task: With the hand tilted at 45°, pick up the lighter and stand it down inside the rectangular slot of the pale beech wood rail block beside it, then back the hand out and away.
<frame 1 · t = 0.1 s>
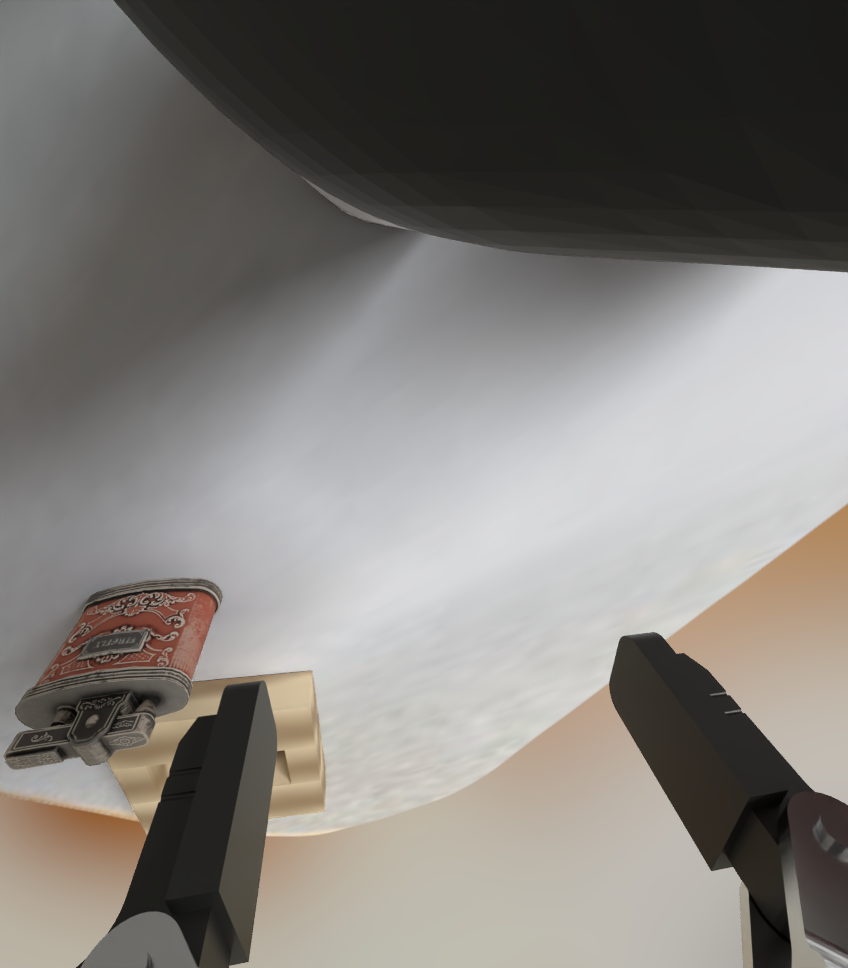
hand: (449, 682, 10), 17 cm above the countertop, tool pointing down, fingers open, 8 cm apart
lighter: (158, 598, 30), on the countertop
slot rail: (231, 737, 37), on the countertop
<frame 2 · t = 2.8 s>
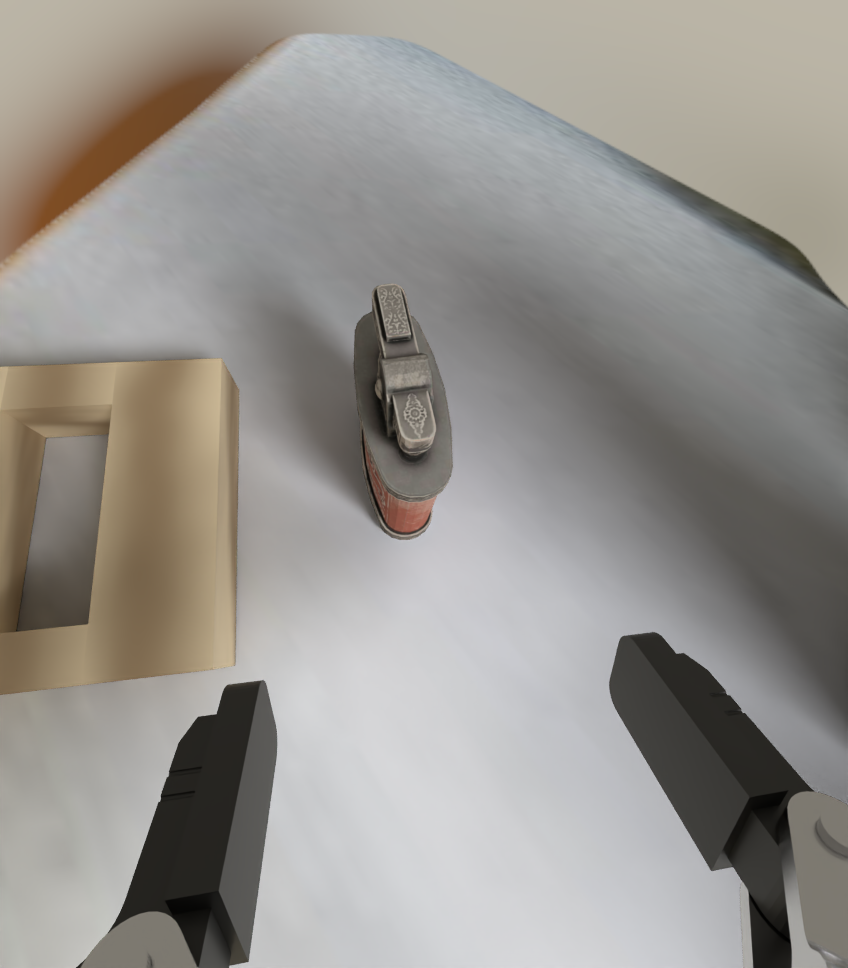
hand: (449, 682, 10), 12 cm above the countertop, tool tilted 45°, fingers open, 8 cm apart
lighter: (394, 467, 25), on the countertop
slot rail: (84, 527, 22), on the countertop
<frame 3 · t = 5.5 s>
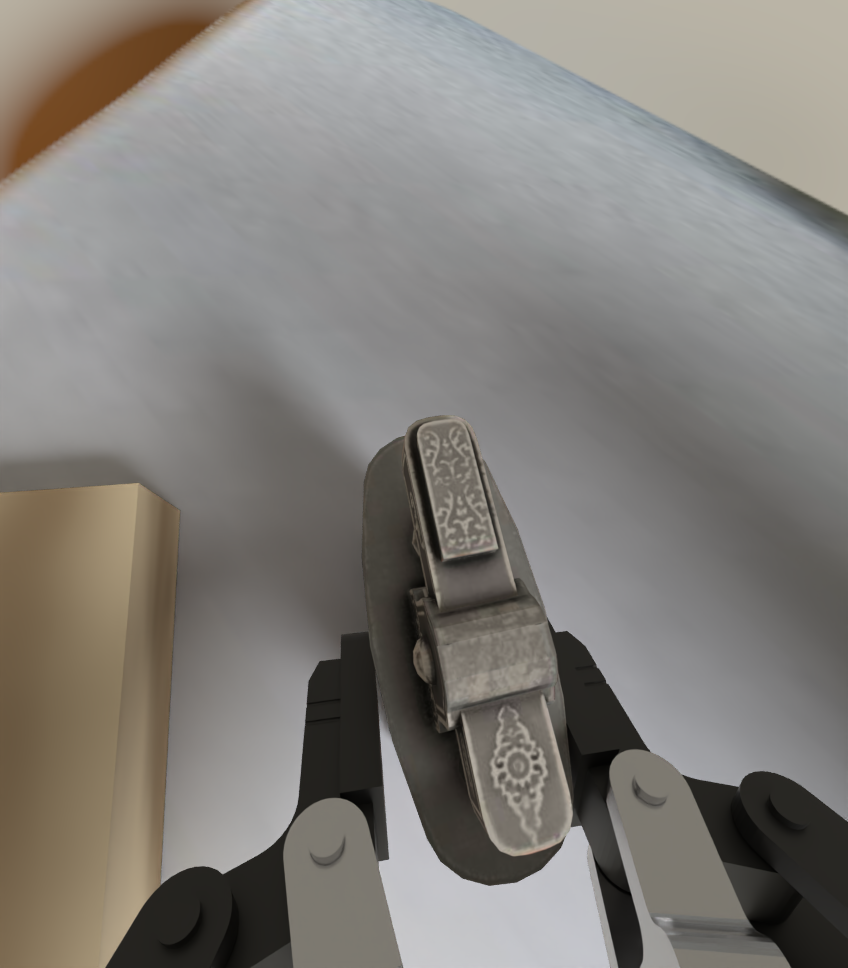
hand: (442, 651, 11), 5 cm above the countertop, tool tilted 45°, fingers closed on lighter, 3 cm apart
lighter: (421, 632, 16), on the countertop, touching gripper
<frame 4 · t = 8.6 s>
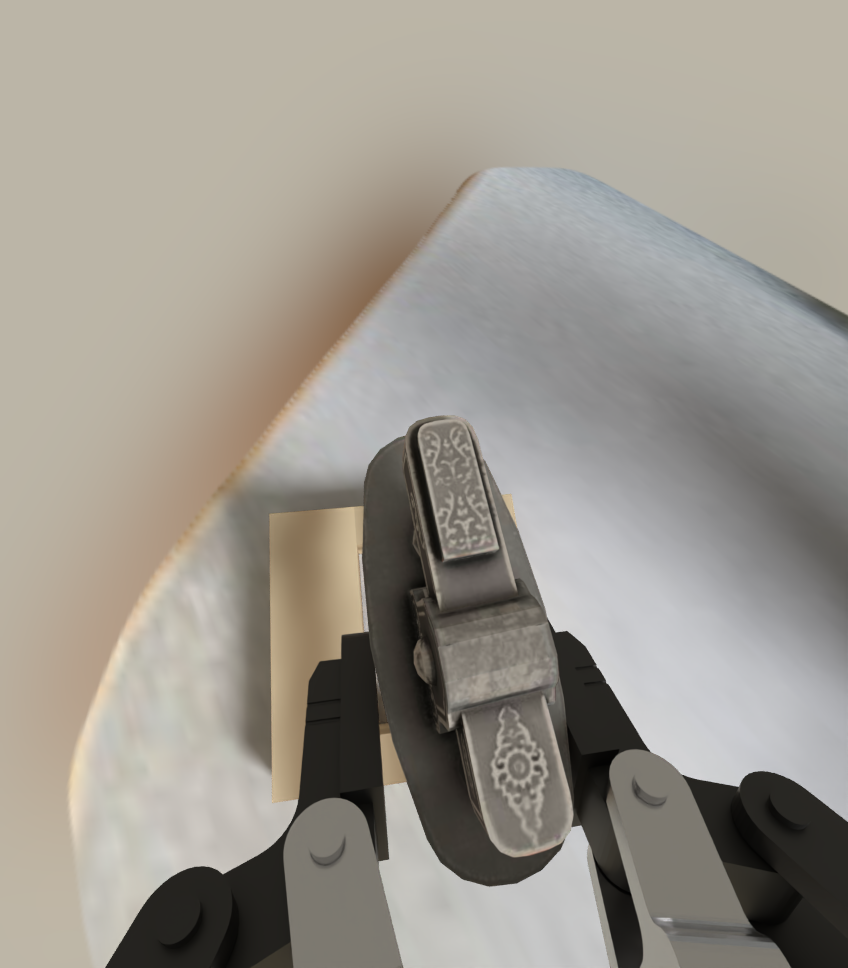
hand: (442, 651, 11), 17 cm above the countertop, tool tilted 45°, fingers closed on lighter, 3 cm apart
lighter: (421, 632, 16), point 12 cm above the countertop, touching gripper
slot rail: (403, 630, 27), on the countertop
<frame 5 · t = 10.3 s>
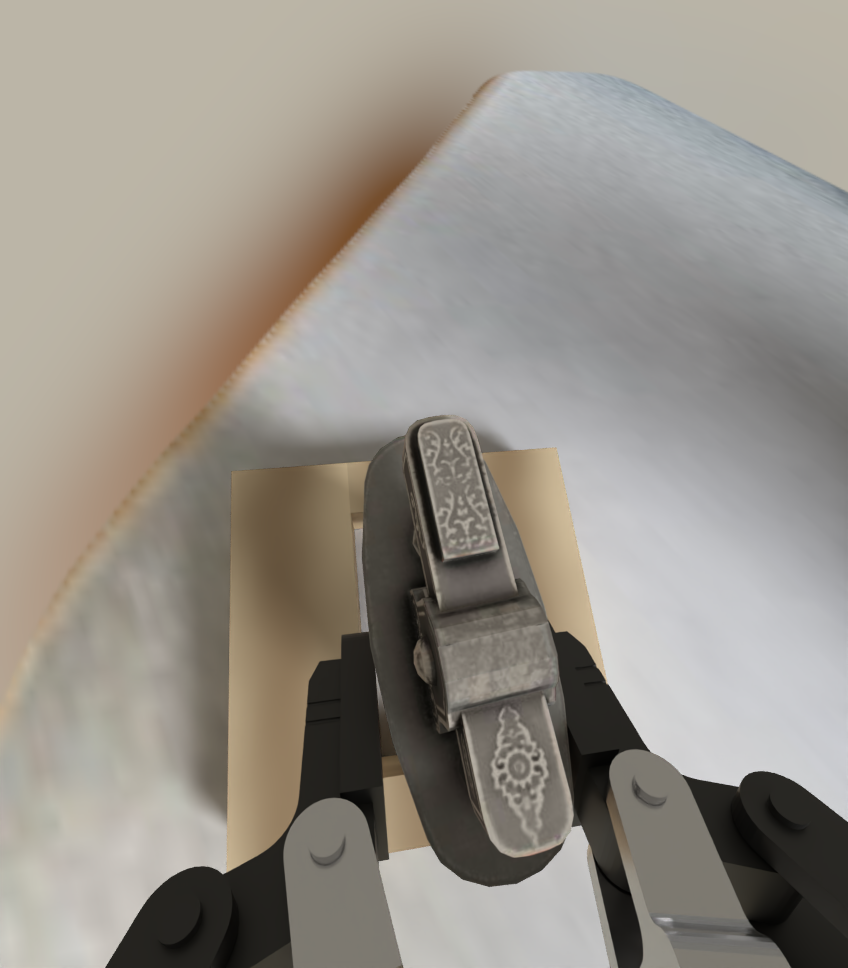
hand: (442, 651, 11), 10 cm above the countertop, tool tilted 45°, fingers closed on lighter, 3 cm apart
lighter: (421, 632, 16), point 5 cm above the countertop, touching gripper
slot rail: (413, 629, 21), on the countertop
when the fingers open (5 cm above the countertop, at t = 11.7 s): lighter stays where it is, resting in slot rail.
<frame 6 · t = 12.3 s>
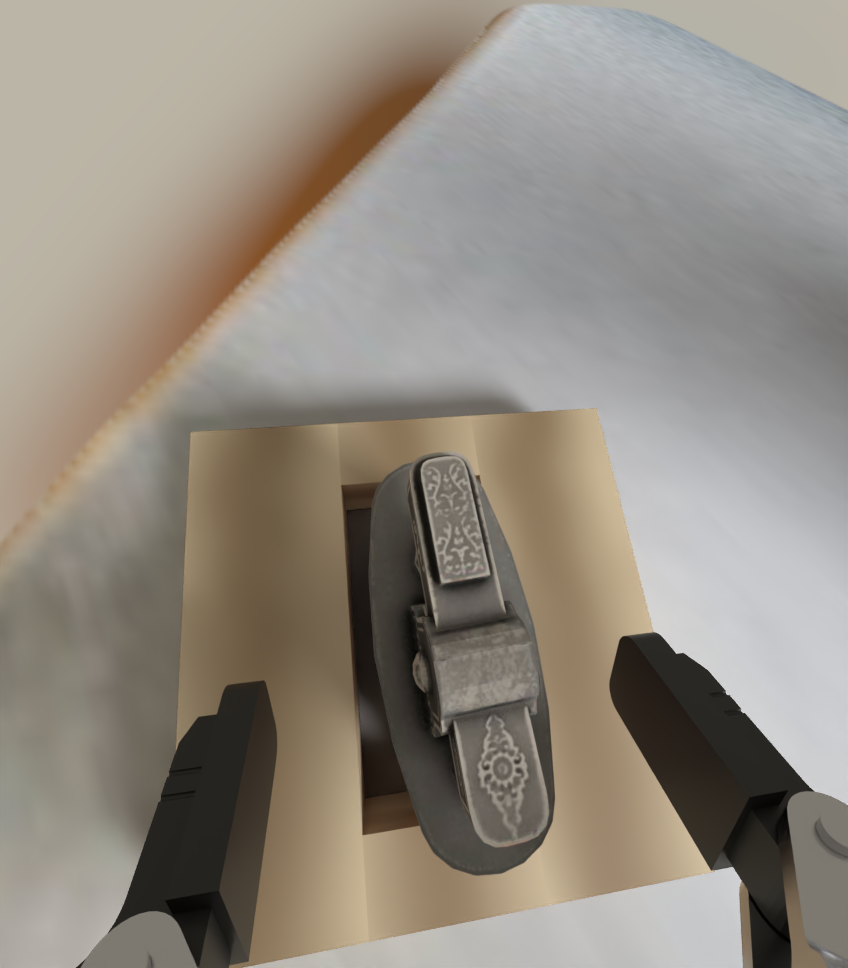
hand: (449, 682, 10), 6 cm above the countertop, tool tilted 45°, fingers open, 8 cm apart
lighter: (422, 640, 17), resting in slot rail
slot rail: (419, 633, 17), on the countertop
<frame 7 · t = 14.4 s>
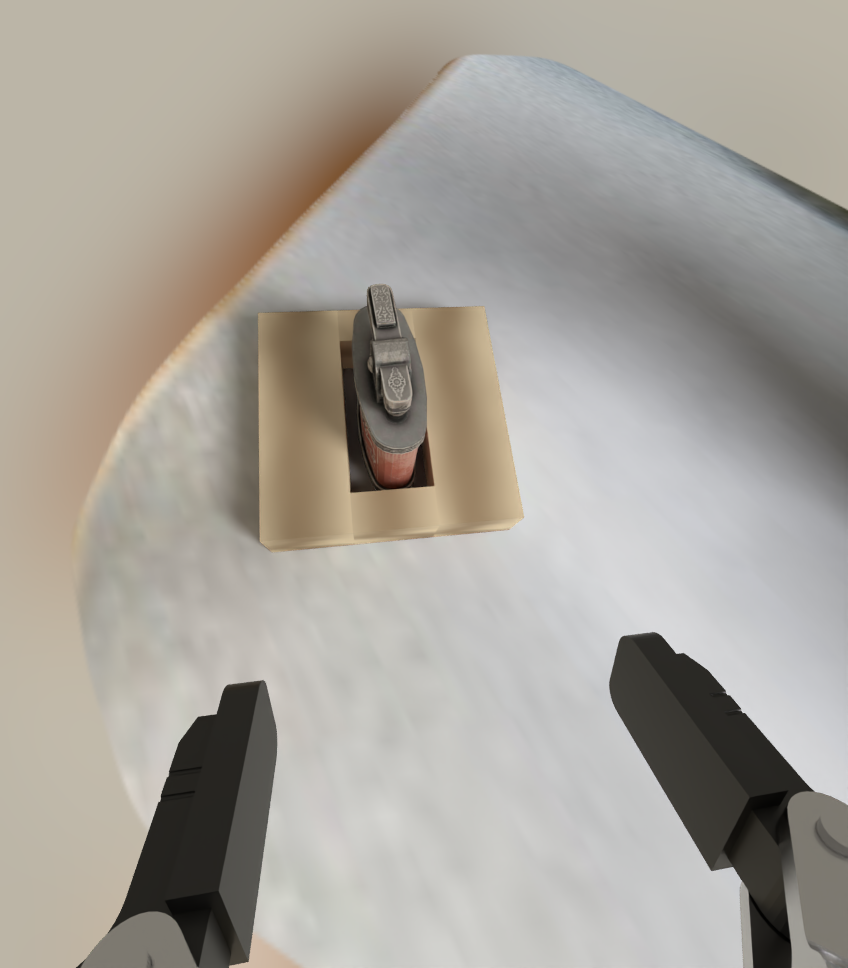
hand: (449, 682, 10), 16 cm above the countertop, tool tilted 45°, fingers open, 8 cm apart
lighter: (385, 437, 30), resting in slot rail
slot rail: (383, 432, 29), on the countertop
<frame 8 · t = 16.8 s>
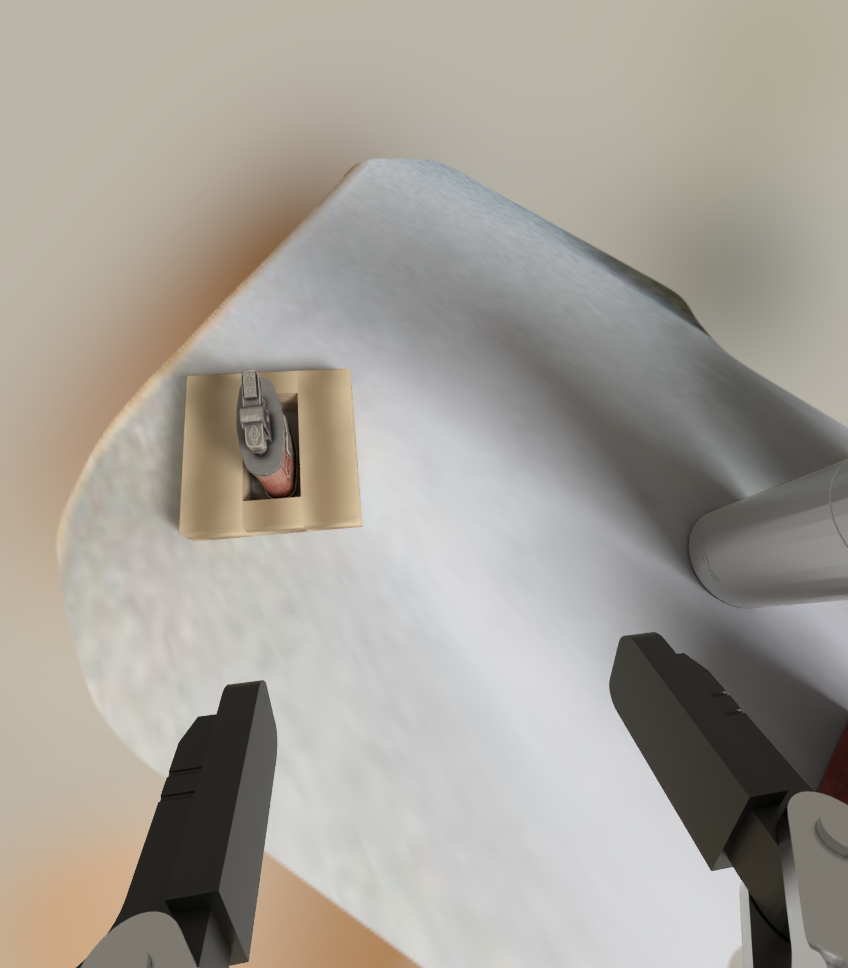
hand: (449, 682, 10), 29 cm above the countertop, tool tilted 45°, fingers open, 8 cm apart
lighter: (279, 461, 42), resting in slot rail
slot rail: (278, 457, 42), on the countertop
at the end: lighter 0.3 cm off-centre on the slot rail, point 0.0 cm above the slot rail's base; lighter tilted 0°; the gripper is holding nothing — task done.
